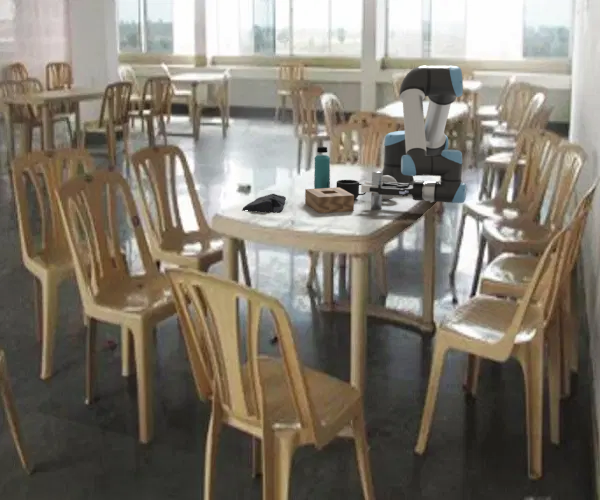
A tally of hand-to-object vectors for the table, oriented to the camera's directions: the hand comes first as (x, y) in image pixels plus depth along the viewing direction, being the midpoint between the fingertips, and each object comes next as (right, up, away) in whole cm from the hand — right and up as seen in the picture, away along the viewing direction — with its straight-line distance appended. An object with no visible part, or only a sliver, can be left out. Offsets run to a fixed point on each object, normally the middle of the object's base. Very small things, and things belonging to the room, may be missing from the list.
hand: (363, 186), depth 321 cm
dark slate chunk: (-37, -8, +3) cm, 38 cm away
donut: (+10, -4, +17) cm, 20 cm away
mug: (-4, -4, +17) cm, 18 cm away
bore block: (-13, -8, +1) cm, 15 cm away
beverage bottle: (-15, -2, +24) cm, 28 cm away
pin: (+5, -8, +1) cm, 10 cm away
